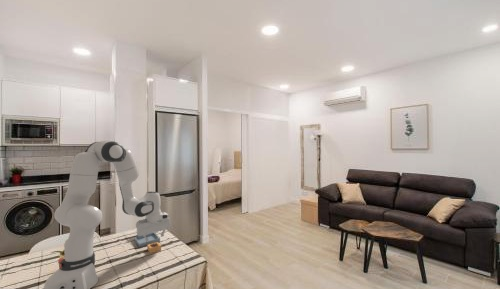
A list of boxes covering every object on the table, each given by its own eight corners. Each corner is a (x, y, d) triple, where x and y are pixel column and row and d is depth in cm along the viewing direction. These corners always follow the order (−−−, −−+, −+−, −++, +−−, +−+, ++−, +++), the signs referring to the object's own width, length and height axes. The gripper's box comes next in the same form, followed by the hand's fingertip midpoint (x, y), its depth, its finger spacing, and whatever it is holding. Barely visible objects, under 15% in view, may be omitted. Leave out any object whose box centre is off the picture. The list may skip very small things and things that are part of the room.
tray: (139, 247, 148) (139, 243, 148) (134, 240, 158) (134, 237, 158) (160, 241, 156) (160, 238, 156) (154, 235, 166) (154, 232, 166)
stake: (152, 251, 142) (152, 245, 142) (151, 249, 145) (150, 244, 145) (157, 249, 144) (157, 244, 144) (155, 248, 147) (155, 242, 147)
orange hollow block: (150, 253, 140) (150, 248, 140) (146, 248, 147) (146, 243, 147) (161, 250, 144) (161, 245, 144) (157, 245, 151) (156, 240, 151)
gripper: (137, 222, 136) (138, 245, 136) (171, 214, 148) (172, 235, 149) (134, 219, 140) (135, 241, 141) (168, 212, 153) (168, 232, 154)
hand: (154, 238), depth 145 cm, fingers open, 8 cm apart
